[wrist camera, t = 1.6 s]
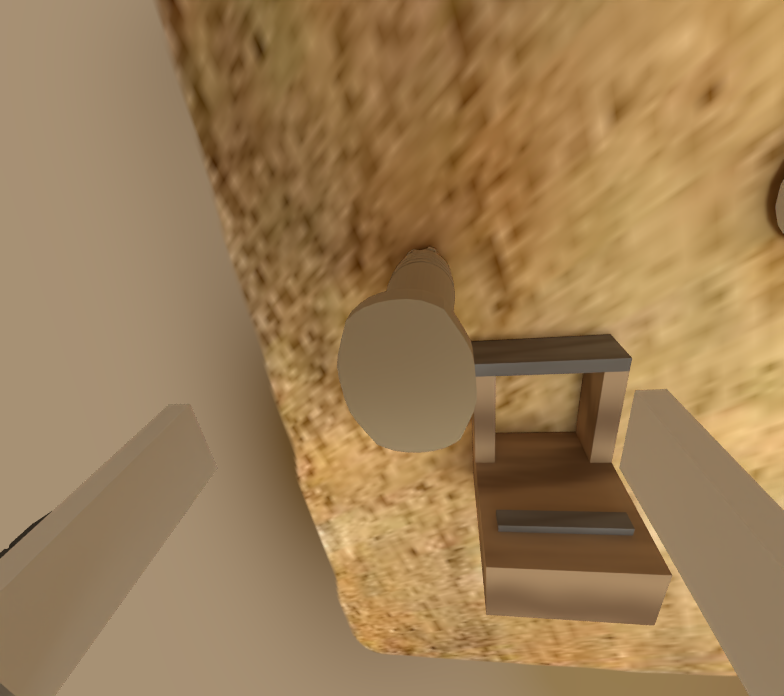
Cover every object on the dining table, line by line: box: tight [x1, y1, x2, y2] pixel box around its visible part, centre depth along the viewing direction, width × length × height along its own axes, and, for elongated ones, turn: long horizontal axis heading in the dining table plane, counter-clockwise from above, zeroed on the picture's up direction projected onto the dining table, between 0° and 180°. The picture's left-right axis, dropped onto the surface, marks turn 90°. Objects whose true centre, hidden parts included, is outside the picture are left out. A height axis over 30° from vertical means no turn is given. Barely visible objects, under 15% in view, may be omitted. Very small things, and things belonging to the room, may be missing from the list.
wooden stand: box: [471, 334, 672, 625], centre depth 26 cm, size 14×10×12 cm
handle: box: [337, 247, 477, 452], centre depth 20 cm, size 5×6×15 cm
